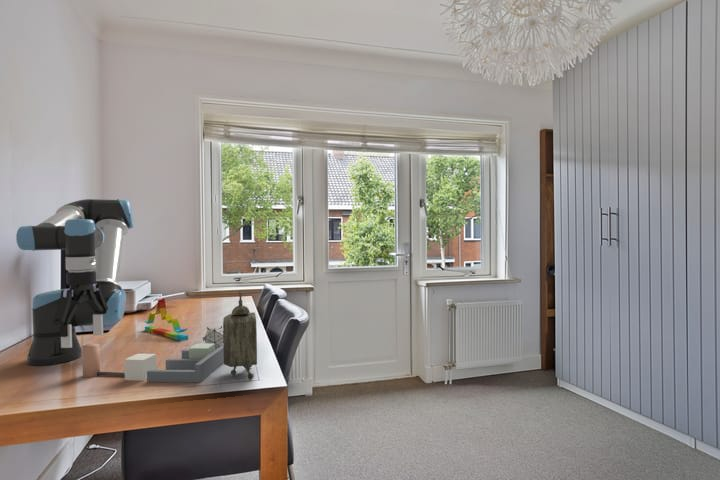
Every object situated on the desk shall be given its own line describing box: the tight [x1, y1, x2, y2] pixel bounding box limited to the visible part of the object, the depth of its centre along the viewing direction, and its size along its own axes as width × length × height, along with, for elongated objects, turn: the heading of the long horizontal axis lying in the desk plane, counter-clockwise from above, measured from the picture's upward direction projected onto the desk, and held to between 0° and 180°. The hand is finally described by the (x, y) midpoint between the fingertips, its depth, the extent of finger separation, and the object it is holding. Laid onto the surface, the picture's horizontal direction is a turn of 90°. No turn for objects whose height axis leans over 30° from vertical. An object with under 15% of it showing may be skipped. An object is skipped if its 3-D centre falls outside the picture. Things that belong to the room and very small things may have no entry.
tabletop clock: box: [222, 290, 258, 380], centre depth 126 cm, size 14×9×25 cm, turn 17°
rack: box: [146, 345, 224, 383], centre depth 132 cm, size 16×22×5 cm
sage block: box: [188, 342, 216, 359], centre depth 137 cm, size 6×6×6 cm
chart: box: [144, 298, 189, 342], centre depth 177 cm, size 30×3×15 cm, turn 52°
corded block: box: [81, 342, 158, 382], centre depth 126 cm, size 21×6×9 cm, turn 83°
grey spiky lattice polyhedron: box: [202, 325, 223, 349], centre depth 155 cm, size 9×8×10 cm
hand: (83, 340), depth 128 cm, fingers open, 13 cm apart
